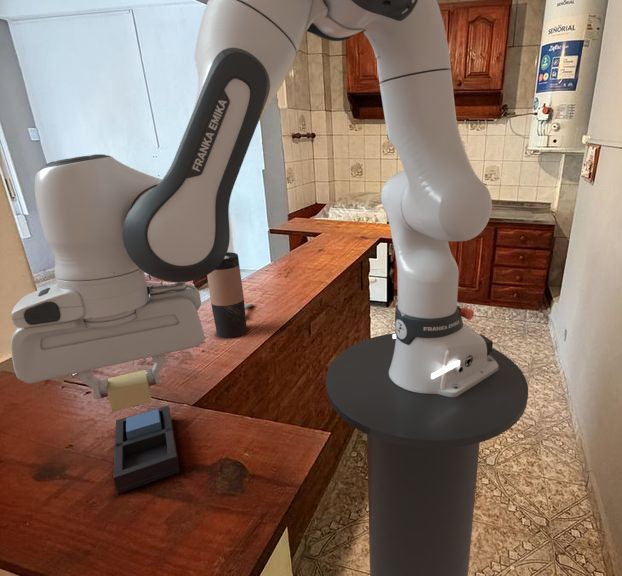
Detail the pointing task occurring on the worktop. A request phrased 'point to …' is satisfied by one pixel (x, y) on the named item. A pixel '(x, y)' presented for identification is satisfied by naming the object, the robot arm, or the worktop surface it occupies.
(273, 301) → the worktop surface
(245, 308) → the spoon
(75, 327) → the robot arm
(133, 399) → the pad beige
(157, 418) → the pad blue
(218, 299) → the travel mug
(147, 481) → the backing frame
